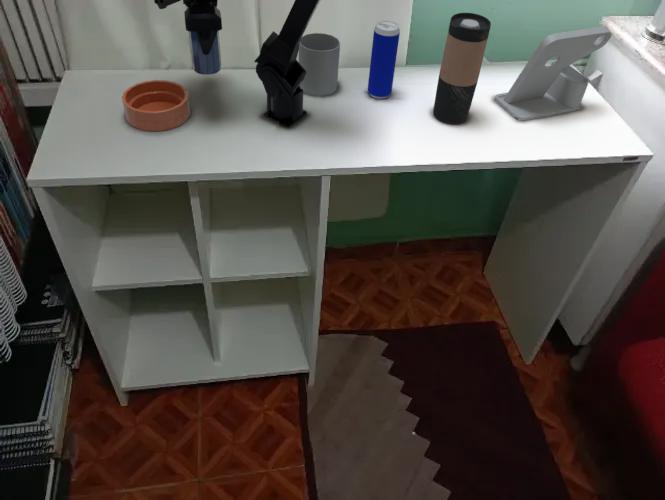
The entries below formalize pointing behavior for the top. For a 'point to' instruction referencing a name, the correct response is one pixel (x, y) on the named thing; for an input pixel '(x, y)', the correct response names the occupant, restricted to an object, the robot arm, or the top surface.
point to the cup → (319, 63)
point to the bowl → (156, 105)
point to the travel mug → (460, 67)
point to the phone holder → (553, 75)
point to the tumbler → (205, 56)
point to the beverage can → (383, 59)
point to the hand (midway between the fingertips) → (205, 47)
